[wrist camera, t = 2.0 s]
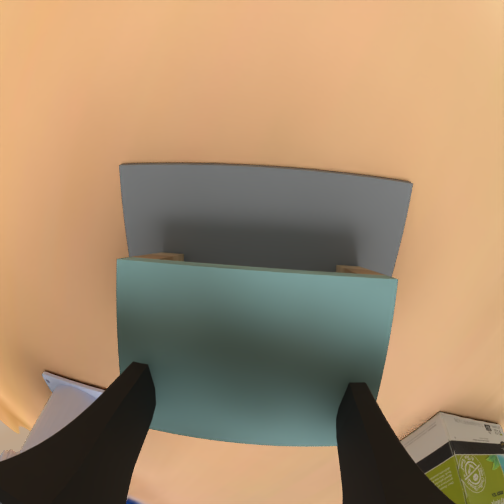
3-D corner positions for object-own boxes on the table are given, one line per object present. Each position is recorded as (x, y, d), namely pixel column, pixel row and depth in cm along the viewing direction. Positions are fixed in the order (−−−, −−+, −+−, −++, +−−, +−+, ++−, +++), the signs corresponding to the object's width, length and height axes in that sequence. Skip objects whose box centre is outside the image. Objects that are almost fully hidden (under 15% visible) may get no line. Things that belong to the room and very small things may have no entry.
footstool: (341, 392, 15) (364, 444, 10) (161, 377, 16) (125, 422, 11) (359, 266, 15) (397, 279, 10) (161, 252, 16) (116, 258, 11)
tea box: (501, 420, 23) (533, 513, 10) (444, 462, 28) (463, 549, 15) (439, 407, 21) (476, 546, 8) (369, 458, 26) (381, 576, 13)
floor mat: (345, 398, 21) (346, 402, 20) (159, 383, 21) (157, 386, 21) (409, 181, 13) (412, 183, 13) (122, 163, 14) (119, 165, 14)
